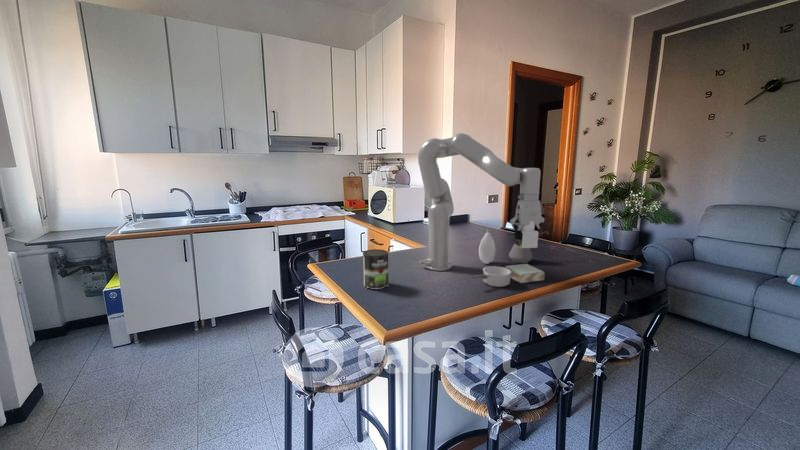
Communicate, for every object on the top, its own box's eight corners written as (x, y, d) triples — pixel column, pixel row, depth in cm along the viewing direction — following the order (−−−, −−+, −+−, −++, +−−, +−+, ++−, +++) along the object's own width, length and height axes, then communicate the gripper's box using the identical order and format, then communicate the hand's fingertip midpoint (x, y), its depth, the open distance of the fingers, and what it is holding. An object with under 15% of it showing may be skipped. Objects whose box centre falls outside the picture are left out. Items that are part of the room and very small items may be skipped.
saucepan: (461, 285, 137) (461, 272, 136) (496, 276, 147) (496, 264, 146) (480, 295, 127) (481, 281, 126) (516, 285, 137) (517, 272, 136)
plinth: (520, 283, 139) (521, 274, 138) (503, 273, 150) (504, 265, 149) (544, 280, 142) (545, 271, 142) (526, 271, 154) (526, 263, 153)
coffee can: (392, 287, 135) (392, 253, 132) (369, 292, 130) (368, 257, 127) (382, 279, 144) (381, 247, 141) (359, 283, 139) (359, 251, 136)
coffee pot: (517, 265, 162) (519, 235, 159) (503, 259, 173) (505, 230, 170) (553, 261, 168) (556, 232, 165) (538, 255, 178) (540, 228, 176)
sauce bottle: (475, 264, 164) (477, 228, 161) (481, 260, 171) (483, 225, 167) (491, 266, 160) (493, 230, 157) (496, 262, 166) (498, 227, 163)
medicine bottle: (514, 244, 147) (515, 217, 144) (529, 243, 147) (531, 217, 145) (521, 248, 140) (523, 220, 137) (537, 248, 140) (539, 220, 138)
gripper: (516, 199, 133) (514, 241, 137) (552, 197, 138) (549, 238, 142) (505, 197, 140) (503, 237, 144) (540, 196, 145) (537, 235, 149)
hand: (526, 238), depth 143 cm, fingers closed on medicine bottle, 8 cm apart
